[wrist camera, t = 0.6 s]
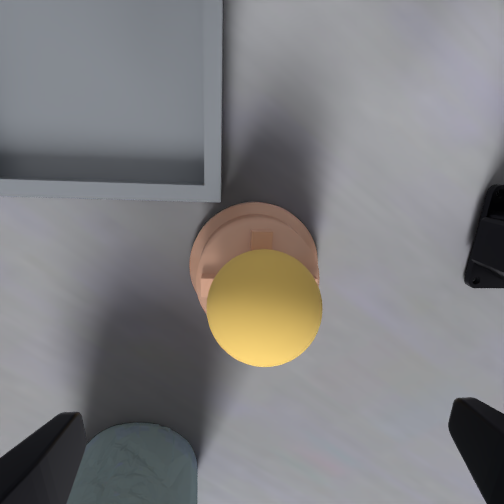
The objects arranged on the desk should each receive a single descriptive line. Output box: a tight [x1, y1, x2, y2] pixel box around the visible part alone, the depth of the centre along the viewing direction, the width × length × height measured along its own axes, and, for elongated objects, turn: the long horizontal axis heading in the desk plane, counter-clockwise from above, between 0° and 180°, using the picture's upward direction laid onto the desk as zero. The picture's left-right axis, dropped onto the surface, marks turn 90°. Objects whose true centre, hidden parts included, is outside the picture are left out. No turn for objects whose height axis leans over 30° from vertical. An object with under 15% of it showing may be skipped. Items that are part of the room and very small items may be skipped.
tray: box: [0, 0, 223, 202], centre depth 14 cm, size 12×12×2 cm
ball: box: [207, 249, 322, 367], centre depth 13 cm, size 5×5×5 cm
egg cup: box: [189, 202, 319, 314], centre depth 17 cm, size 8×8×4 cm
